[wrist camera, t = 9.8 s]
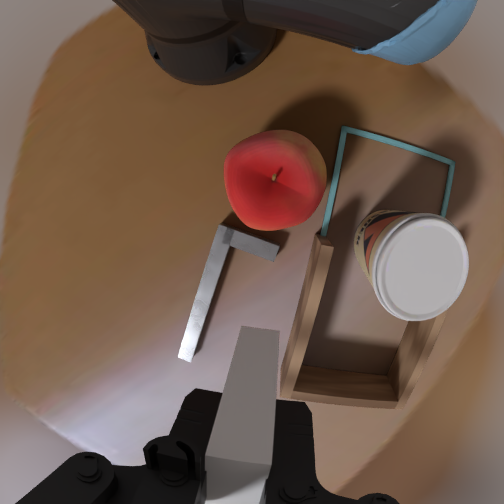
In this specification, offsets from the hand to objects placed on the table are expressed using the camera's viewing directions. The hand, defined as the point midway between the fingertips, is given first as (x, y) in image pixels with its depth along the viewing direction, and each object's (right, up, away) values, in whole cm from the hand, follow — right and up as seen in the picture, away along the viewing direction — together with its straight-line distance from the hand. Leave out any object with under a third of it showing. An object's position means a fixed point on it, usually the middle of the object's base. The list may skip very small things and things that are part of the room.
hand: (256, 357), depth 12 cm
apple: (+2, +12, +22) cm, 25 cm away
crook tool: (-3, -2, +25) cm, 26 cm away
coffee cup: (+15, +5, +22) cm, 27 cm away
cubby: (+13, -4, +24) cm, 28 cm away
